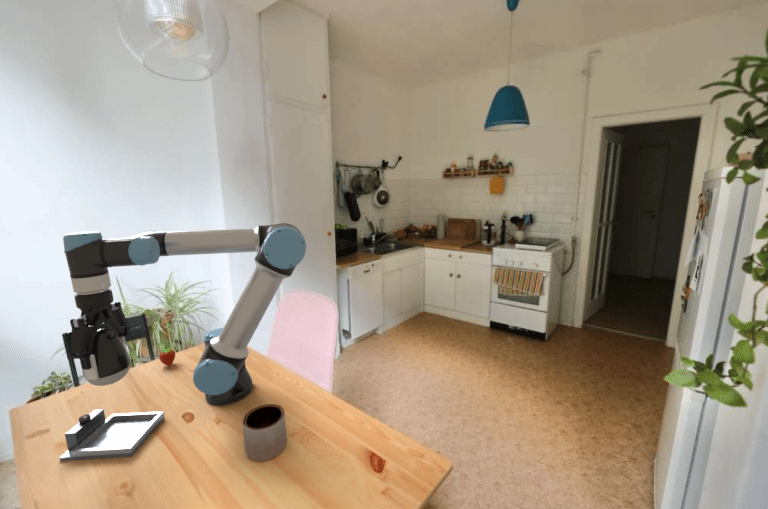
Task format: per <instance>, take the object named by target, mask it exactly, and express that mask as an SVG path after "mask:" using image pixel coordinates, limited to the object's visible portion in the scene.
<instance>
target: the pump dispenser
mask: <svg viewBox="0 0 768 509" xmlns="http://www.w3.org/2000/svg"><path fill="white" fill-rule="evenodd" d="M126 347H127V346H126ZM126 347H125V346H124V344H123V342H122V341H121V339H120V338H119V337H118V334H117V333H114V332H113V331H112V330H110V329H109V328H106V327H105V328H99V329H98V330H97V332H96V336H95V340H94V344H93V348H92V352H91V355H94V356H95V361H96V366H97V371H98V376H99V378H98V379H94V380H86V381H87V382H88V383H89V384H90V385H93V386H98V387H101V386H102V387H104V386H109V385H112V384H115V383H117V382H119V381H121V380H122V379H124V377H125V376H127V374H128V372H129V370H130V366H131V363H132V361H131V357H130V355H129V352H128V349H126ZM85 353H86V351H85ZM81 369H82V368H81ZM81 372H82V376H83V378H84V379H86V378H85V374H84V370H83V369H82V371H81Z"/></svg>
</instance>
